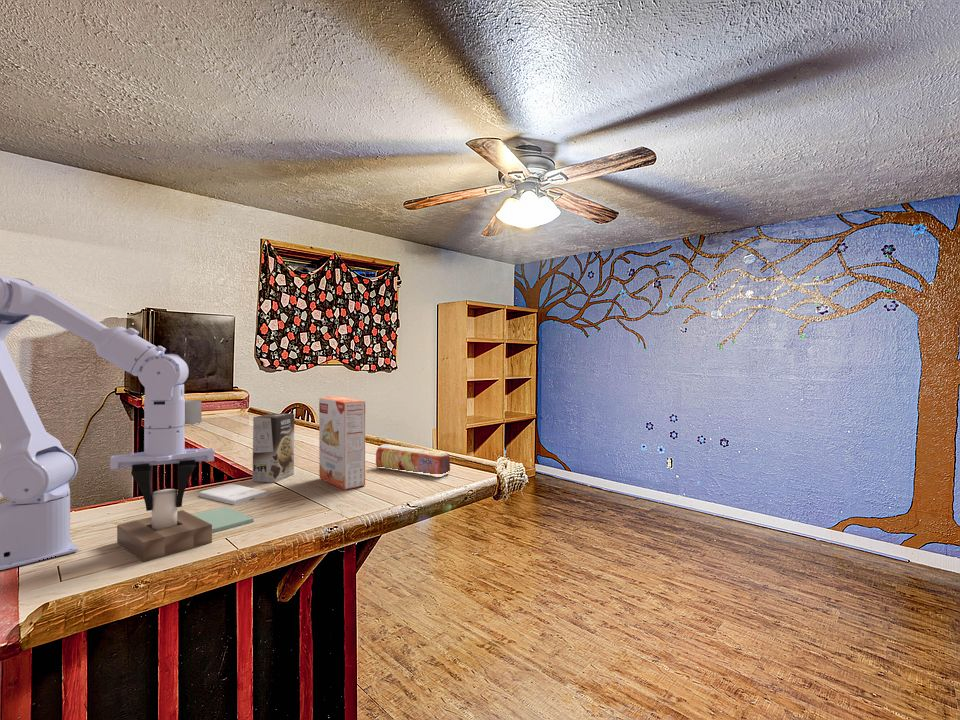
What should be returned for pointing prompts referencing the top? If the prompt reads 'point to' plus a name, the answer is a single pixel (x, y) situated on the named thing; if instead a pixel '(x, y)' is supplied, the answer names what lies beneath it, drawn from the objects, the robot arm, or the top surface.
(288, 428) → the coffee box
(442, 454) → the snack package
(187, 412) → the coffee mug
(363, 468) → the cracker box
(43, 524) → the robot arm
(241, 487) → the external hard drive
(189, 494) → the top surface
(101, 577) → the top surface
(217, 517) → the mat
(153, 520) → the plug
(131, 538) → the brown socket block
